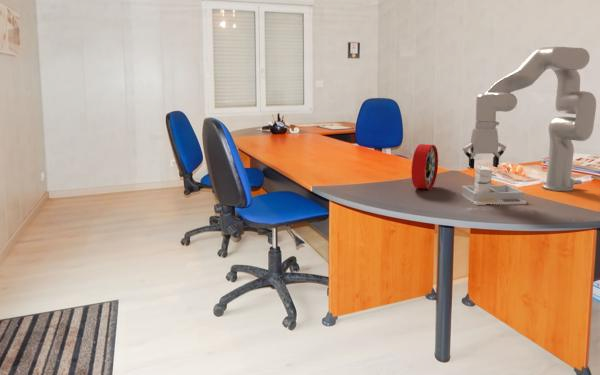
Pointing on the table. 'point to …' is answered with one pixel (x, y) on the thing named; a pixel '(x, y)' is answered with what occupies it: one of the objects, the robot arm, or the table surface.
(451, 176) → the table surface
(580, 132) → the robot arm
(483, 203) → the divided tray
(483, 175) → the ink box
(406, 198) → the table surface
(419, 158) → the toy clock
